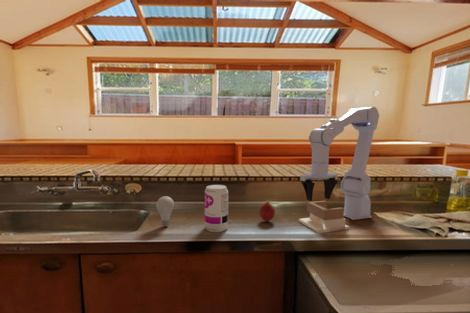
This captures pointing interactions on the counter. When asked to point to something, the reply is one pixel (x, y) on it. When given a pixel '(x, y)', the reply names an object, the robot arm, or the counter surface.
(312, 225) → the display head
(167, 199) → the lightbulb
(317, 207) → the tan c-shaped bracket
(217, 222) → the supplement can
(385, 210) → the counter surface
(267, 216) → the onion
